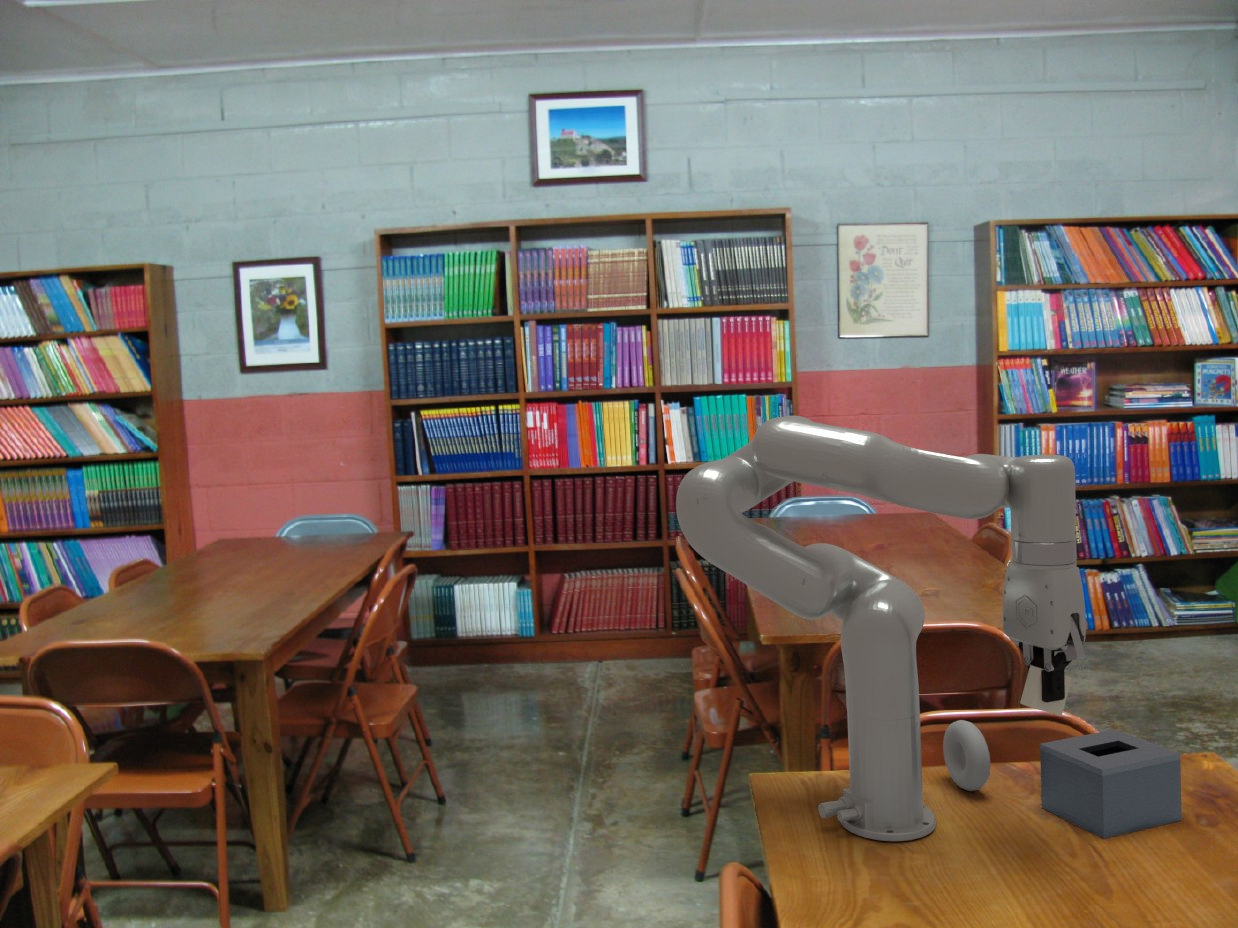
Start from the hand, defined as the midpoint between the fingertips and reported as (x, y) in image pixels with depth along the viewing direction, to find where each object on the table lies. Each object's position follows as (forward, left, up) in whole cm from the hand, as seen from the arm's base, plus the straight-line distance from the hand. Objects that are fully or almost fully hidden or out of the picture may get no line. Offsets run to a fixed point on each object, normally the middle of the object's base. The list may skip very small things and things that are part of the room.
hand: (1046, 697), depth 128 cm
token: (-1, 0, -2) cm, 2 cm away
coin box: (+13, +3, -19) cm, 23 cm away
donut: (+2, +19, -19) cm, 27 cm away
